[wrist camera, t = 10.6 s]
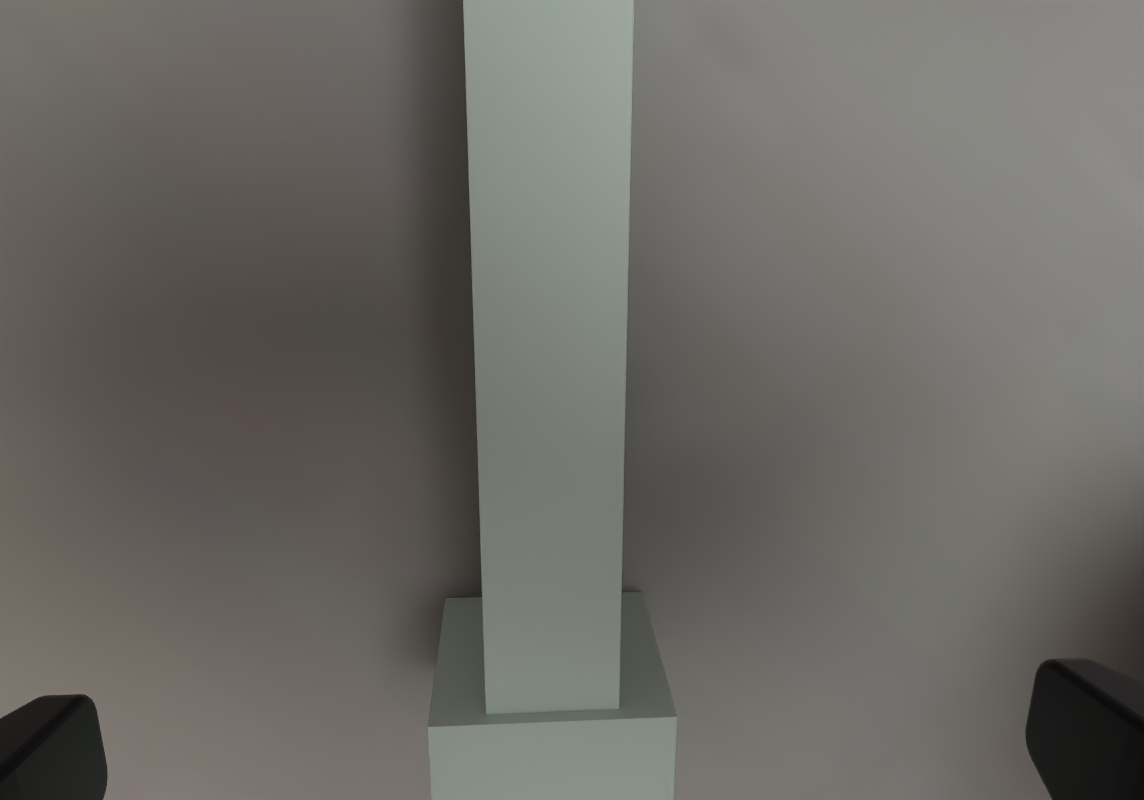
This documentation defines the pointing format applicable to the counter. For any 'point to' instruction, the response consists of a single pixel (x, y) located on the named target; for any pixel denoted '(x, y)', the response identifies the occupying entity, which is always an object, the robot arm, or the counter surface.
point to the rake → (550, 428)
